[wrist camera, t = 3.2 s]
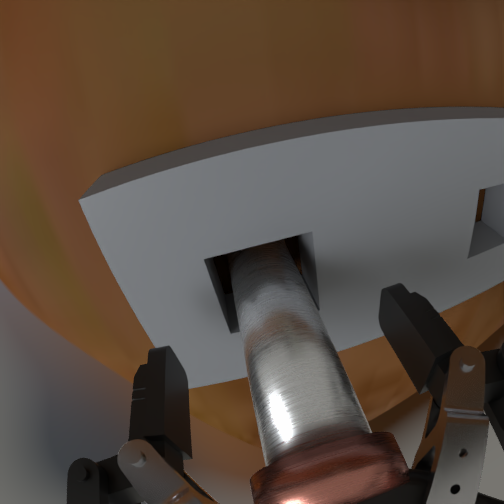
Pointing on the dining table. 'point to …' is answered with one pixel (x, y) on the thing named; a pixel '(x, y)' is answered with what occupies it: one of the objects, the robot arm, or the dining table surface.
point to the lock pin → (303, 393)
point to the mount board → (306, 223)
